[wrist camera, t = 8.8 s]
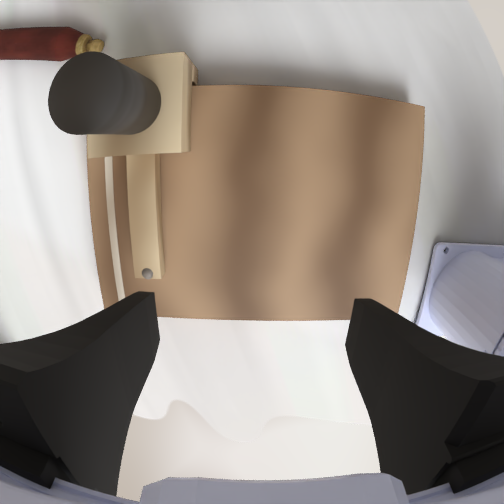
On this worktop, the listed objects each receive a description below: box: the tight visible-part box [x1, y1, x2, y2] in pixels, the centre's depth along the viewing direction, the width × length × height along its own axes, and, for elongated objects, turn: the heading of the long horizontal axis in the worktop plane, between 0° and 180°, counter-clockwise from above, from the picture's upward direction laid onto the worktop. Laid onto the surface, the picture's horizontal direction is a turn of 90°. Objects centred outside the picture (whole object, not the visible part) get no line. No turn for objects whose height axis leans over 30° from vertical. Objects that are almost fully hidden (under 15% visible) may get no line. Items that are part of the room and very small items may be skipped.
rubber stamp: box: [48, 51, 198, 279], centre depth 14 cm, size 5×12×9 cm, turn 179°
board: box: [87, 85, 425, 321], centre depth 19 cm, size 20×14×2 cm
